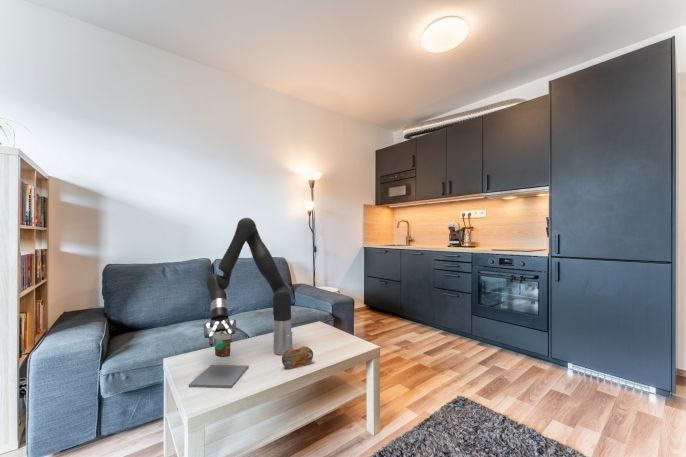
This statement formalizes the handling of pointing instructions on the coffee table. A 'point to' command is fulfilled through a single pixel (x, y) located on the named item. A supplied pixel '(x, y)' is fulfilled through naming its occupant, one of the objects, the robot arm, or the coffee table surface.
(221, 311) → the robot arm
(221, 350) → the food container
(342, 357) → the coffee table surface
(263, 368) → the coffee table surface
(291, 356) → the tin
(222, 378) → the slate board
